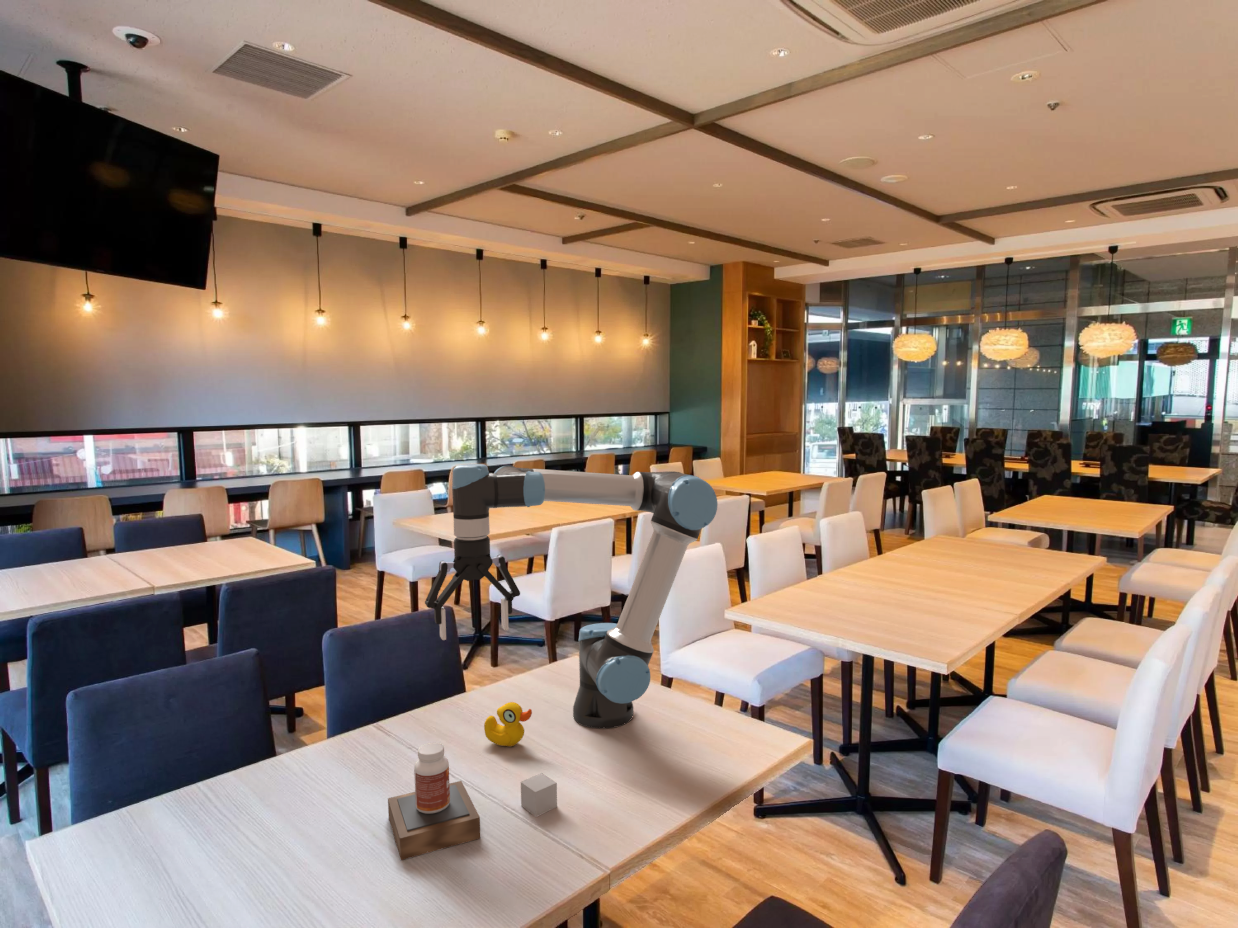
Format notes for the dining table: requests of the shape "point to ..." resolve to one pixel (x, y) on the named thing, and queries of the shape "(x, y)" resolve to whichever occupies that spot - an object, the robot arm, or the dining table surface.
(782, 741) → the dining table surface
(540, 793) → the stone block
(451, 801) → the podium
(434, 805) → the pill bottle
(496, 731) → the duckling
